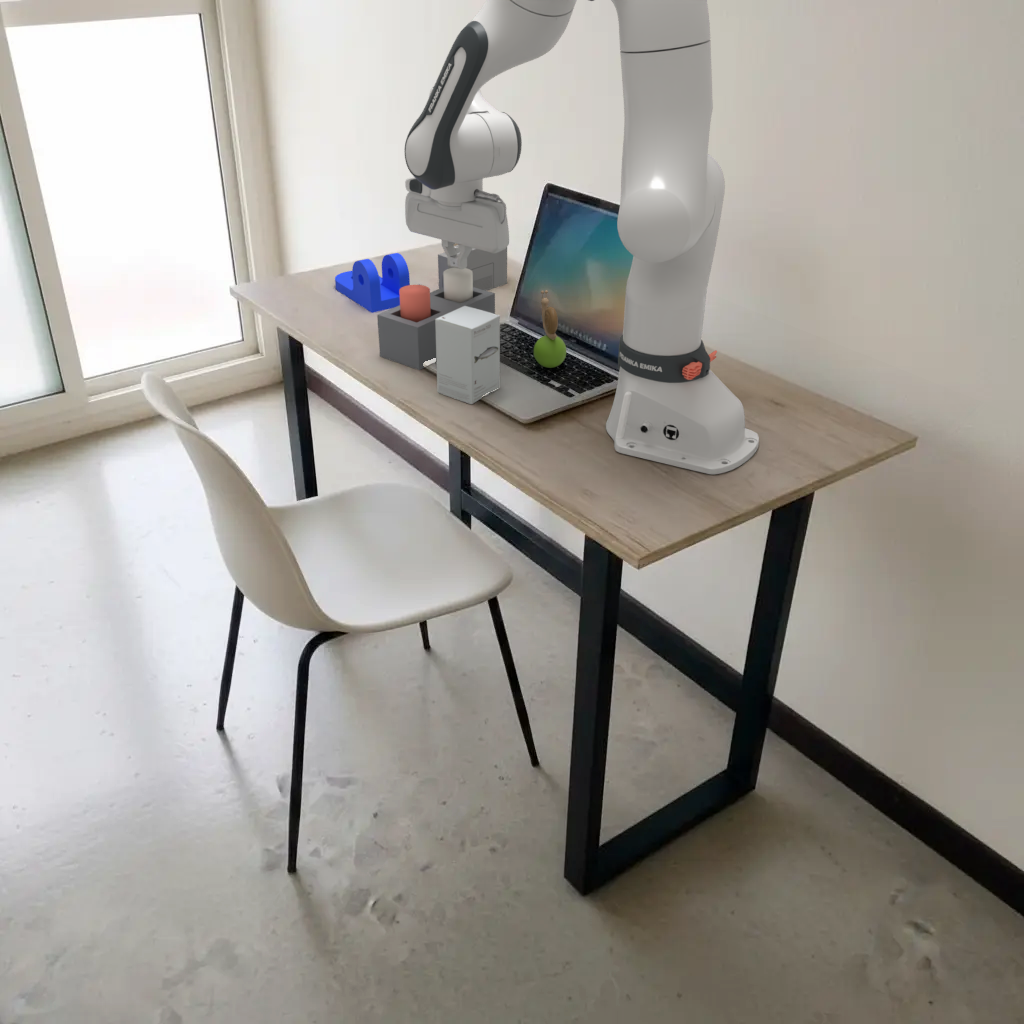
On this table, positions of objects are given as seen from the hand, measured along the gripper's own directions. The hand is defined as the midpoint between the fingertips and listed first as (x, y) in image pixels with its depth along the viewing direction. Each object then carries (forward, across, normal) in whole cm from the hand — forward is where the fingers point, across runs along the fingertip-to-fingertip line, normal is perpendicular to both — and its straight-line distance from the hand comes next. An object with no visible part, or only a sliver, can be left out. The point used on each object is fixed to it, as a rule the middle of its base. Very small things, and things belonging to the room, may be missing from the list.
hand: (457, 267), depth 180 cm
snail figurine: (+13, -20, 0) cm, 24 cm away
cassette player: (+13, +12, -19) cm, 26 cm away
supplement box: (+13, -16, +16) cm, 26 cm away
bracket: (+13, +27, -5) cm, 30 cm away
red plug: (+7, 0, +11) cm, 13 cm away
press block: (+12, 0, +5) cm, 14 cm away
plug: (+7, 0, 0) cm, 7 cm away
